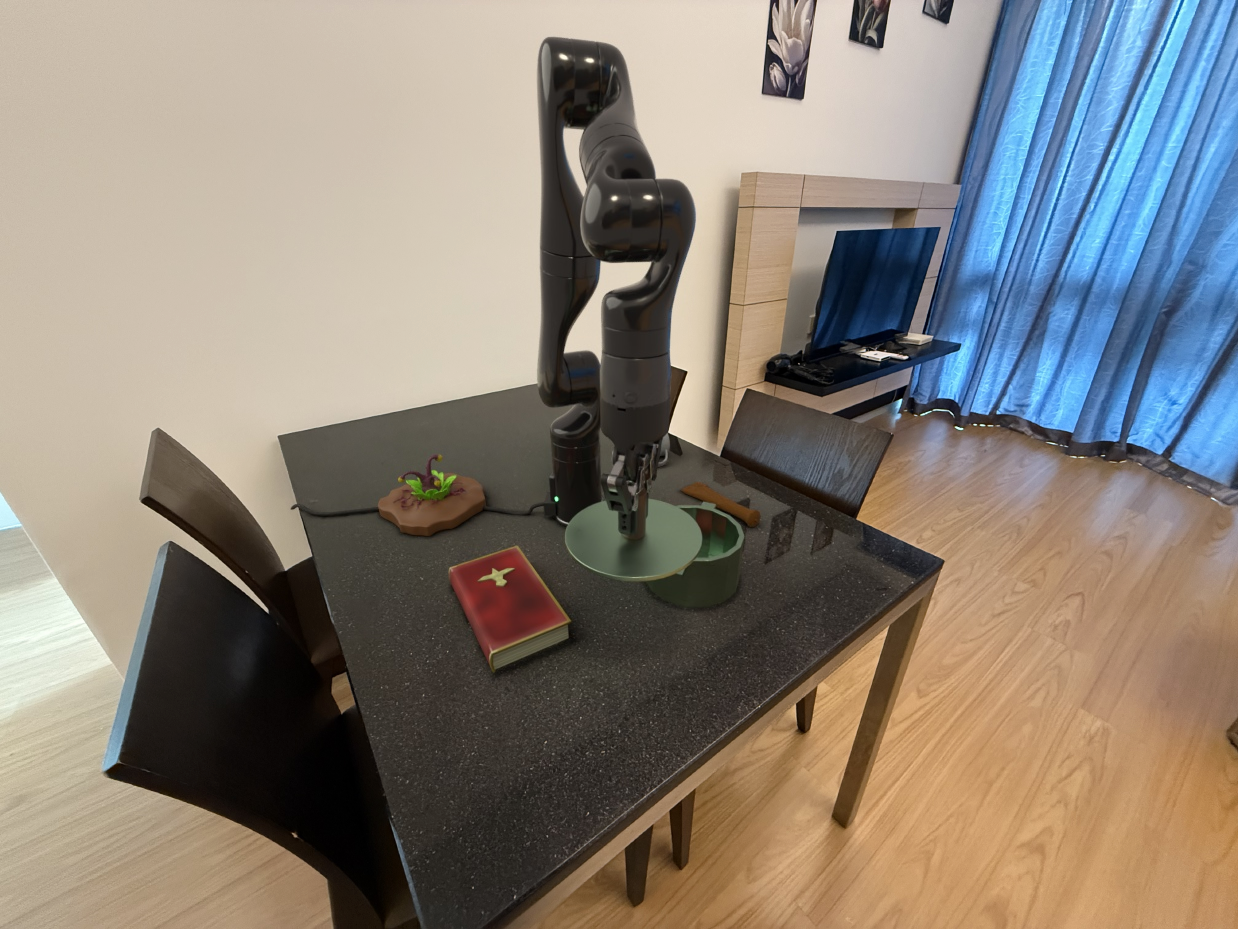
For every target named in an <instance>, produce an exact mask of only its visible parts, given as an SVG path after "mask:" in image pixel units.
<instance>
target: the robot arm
mask: <svg viewBox="0 0 1238 929" xmlns="http://www.w3.org/2000/svg"><path fill="white" fill-rule="evenodd" d="M536 61H537V62H536V99H537V100H536V102H537V122H538V123H537V124H538V140H539V162H540V164H539V165H540V225H539V277H540V278H539V281H540V283H539V284H540V286H539V287H540V288H539V289H540V326H539V337H538V338H539V339H538V350H537V367H536V383H537V391H538V395H539V397H540V400H541V402H542V403H543V404H544V405H545V406H546V407H548V408H552V409H553V408H554V409H555V408H564V407H570V406H572V407H571V408H569V409H568V411H566V412H565V413H564V414H562V415H560V416H559V417H557V418H556V419H554V420H553V421H552V423H551V424H550V427H549V435H550V438H549V439H550V450H551V451H550V452H551V463H552V473H551V474H549V476H548V482H549V485H548V486H549V491H547V492H546V494H545V497H544V500H543V502H537V503H534V504H531V506H530V507H529V509H528V510H526V511H513V510H509V509H504V508H500V507H493V506H487V505H486V506H483V509H484V510H485V511H488V512H489V511H491V512H498V513H503V514H506V515H511V516H527V515H530V514H532V513H533V511H534V509H536V508H539V507H543V514H544V516H550V517H551V519H554V520H556V521H557V522H558V523H559V524H560V525H562V526H564V527H567V526H568V524H569V522H570V521H571V520H572V518H573V517H574V516H576V515H577V514H578V513H579V512H580V511H582V510H583V509H585V508H587V507H589V506H591V505H593V504H596V503H599V502H602V501H604V499H605V501H606V502H607V505H608V509H609V510H611V511H617V512H618V531H619V532H620V533H621V534H625V535H629V536H634V535H635V534H636V533H637V530H638V499H639V492H640V491H641V490H643V488H645V489H646V491H647V498H646V518H647V516H648V499H650V498H649V497H650V496H649V495H650V492H651V491H652V487H653V486H652V485H653V484H652V482H655V481H656V479H657V477H658V469H659V467H658V463H659V462H660V457H661V456H660V451H661V445H662V440H663V437H664V436H665V435H666V434H667V432H669V429H670V410H671V408H670V407H671V390H672V389H671V388H672V363H671V335H672V332H671V331H672V316H673V315H672V314H673V307H674V303H675V298H676V294H677V290H678V287H679V282H680V278H681V275H682V272H683V269H684V265H685V262H686V261H687V257H688V253H689V252H690V248H691V246H692V241H693V237H694V234H695V230H696V222H697V210H696V205H695V204H696V203H695V200H694V197H693V195H692V193H691V191H690V190H689V188H688V186H687V185H686V184H685V183H684V182H682V181H681V180H678V179H675V178H667V177H666V178H665V177H664V178H657V174H656V173H657V172H656V168H655V163H654V161H653V159H652V157H651V154H650V152H649V150H648V148H647V146H646V144H645V141H644V139H643V137H642V135H641V133H640V129H639V127H638V122H637V115H636V108H635V100H634V94H633V90H632V84H631V77H630V73H629V69H628V68H629V67H628V65H627V61H626V59H625V57H624V54H623V53H622V51H621V50H620V49H619V48H618V47H616V46H615V45H613V44H610V43H608V42H603V41H595V40H587V39H578V38H569V37H562V36H547V37H545V38H544V39H543V40H542V42H541V44H540V45H539V49H538V54H537V60H536ZM565 130H579V131H580V130H581V131H582V133H581V137H580V140H579V146H578V158H579V163H580V168H581V171H582V175H583V178H584V182H585V185H586V189H585V191H584V194H583V192H582V190H581V188H580V186H579V185H578V182H577V180H576V178H575V175H574V172H573V170H572V167H571V164H570V161H569V159H568V155H567V150H566V145H565V137H564V136H565V135H564V134H565V133H564V132H565ZM602 262H603V263H606V264H607V263H608V264H625V263H626V264H627V263H650V265H649V267H648V269H647V271H646V273H645V274H644V275H643V277H642V278H641V279H640V280H639V281H636V282H634V283H631V284H628V285H623V286H621V287H618V288H614V289H612V290H609V291H608V292H606V293H605V294H604V295H603V297H602V300H601V307H600V324H601V326H600V327H601V334H600V335H601V356H600V357H601V358H600V360H599V357H598V356H597V355H596V353H595V352H593V351H592V350H589V349H585V350H584V349H583V350H575V351H567V352H565V348H566V344H567V340H568V338H569V335H570V333H571V331H572V329H573V327H574V325H575V323H576V322H577V320H578V319H579V317H580V316H581V314H582V313H583V311H584V310H585V309H586V307H587V305H588V304H589V302H590V301H591V299H592V297H593V296H594V294H595V292H596V290H597V288H598V286H599V282H600V278H601V277H600V276H601V266H602ZM601 433H602V434H603V435H604V436H605V437H606V438H608V439H609V440H610V441H611V442H612V443H613V445H614V446H613V449H612V453H611V465H612V469H611V471H610V473H606V472H602V463H601ZM629 492H631V494H632V496H631V498H630V493H629ZM602 493H603V495H602ZM299 505H300V506H299ZM297 508H299V509H301V510H303V511H304V512H306V513H308V514H310V515H312V516H317V517H318V516H319V517H330V516H331V517H332V516H333V517H334V516H341V515H350V514H360V513H369V512H376V511H379V509H378V506H373V507H365V508H357V509H347V510H346V509H345V510H339V511H317V510H316V511H314V510H313V509H310V508H309V507H307V506H306V505H304V504H301V503H295V504H293V505H292V506H291V507H290V510H291V511H293V510H296V509H297Z"/></svg>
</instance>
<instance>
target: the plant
mask: <svg viewBox="0 0 1238 929" xmlns="http://www.w3.org/2000/svg"><path fill="white" fill-rule="evenodd" d="M443 459H444V457H443V456H442V455H441V454H438V453H436V454H433V455H430V457H429V458H428V460H427V463H426V467H425V472H426V473H425V474H422V473H421V472H420V471H415V470H410V471H409V470H408V471H407V472H405V473H403V474H401V475H400V476H399V477H398V479H397V480H398V483H400V484H403V483H404V482H406V483H404V484H403V485H402V486H400V487H397V488H392V489H391V490H390V492H389V494H388V495H386V496H384V497H381V498H379V500H378V503H377V507H378V509H379V510H378V513H379V515H380V517H381V518H383V519H384V520H386V521H388V522H391V523H393V524H394V526H396V527H397V528H398V529H399V531H400V532H401V533H402V534H408V535H412V536H425V537H431V536H432V535H434V534H435V533H437V532H440V531H445V530H452V529H455V528H456V527H458V526H460V525H461V524H463V523H464V522H466V521H468V520H469V519H470V518H472V517H473V516H475V515H477V514H479V513H480V512H482V511H483V510H484V509H483V506H487V502H486V501H487V500H486V497H485V489H484V487H483V485H482V484H481V483H480V482H478V481H477V480H475V479H474V478H473V477H468V476H462V475H460V474H457V473H454V472H446V473H444V472H443V471H440V472H438V471H437V470H435V469H433V470H432V461H433V460H434V461H435V462H437V463H439V462H442V460H443ZM408 475H414V476H415V477H416V478H417V480H416V479H406V476H408Z"/></svg>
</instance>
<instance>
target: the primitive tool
mask: <svg viewBox="0 0 1238 929" xmlns="http://www.w3.org/2000/svg"><path fill="white" fill-rule="evenodd" d="M680 490H681V492H682V493H683V494H686V495H688V496H689V497H693V498H695V499H698V500H700V501H701V502H708V503H713V504H716V509H718V510H720V511H722V512H726V513H727V514H729V515H732V516H734V517H736V518H738V519H739V520H742V521H744V523H746V525H747V526H748V527H750V528H755V527H756V526H757V525H758V524H759V523H760V520H761V516H762V515H761V511H759V509H751V508H748V507H747V506H744V505H743V504H739V503H737V502H736V501H733V500H732V499H730V498H728V497H726V496H724V495H723V494H720V493H719V492H717V491H715V490H713V489H712V488H711V487H709V485H708V484H705V483H704V482H698V481H697V482H696V481H695V482H694V483H692V484H690V485H687V486H685V487H683V488H681V489H680Z"/></svg>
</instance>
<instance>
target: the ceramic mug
mask: <svg viewBox="0 0 1238 929" xmlns="http://www.w3.org/2000/svg"><path fill="white" fill-rule="evenodd" d="M668 432H669V431H668ZM668 432H667V434H666V435H665V436H664V437H663V440H662V445H661V451H660V457H663V456H664V459H663V460H662V461H659V463H658V468H660V467H663V466H665V465H666V463H667V462H668V458H669V454H670V450H671V441H670V436H669V433H668Z"/></svg>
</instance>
